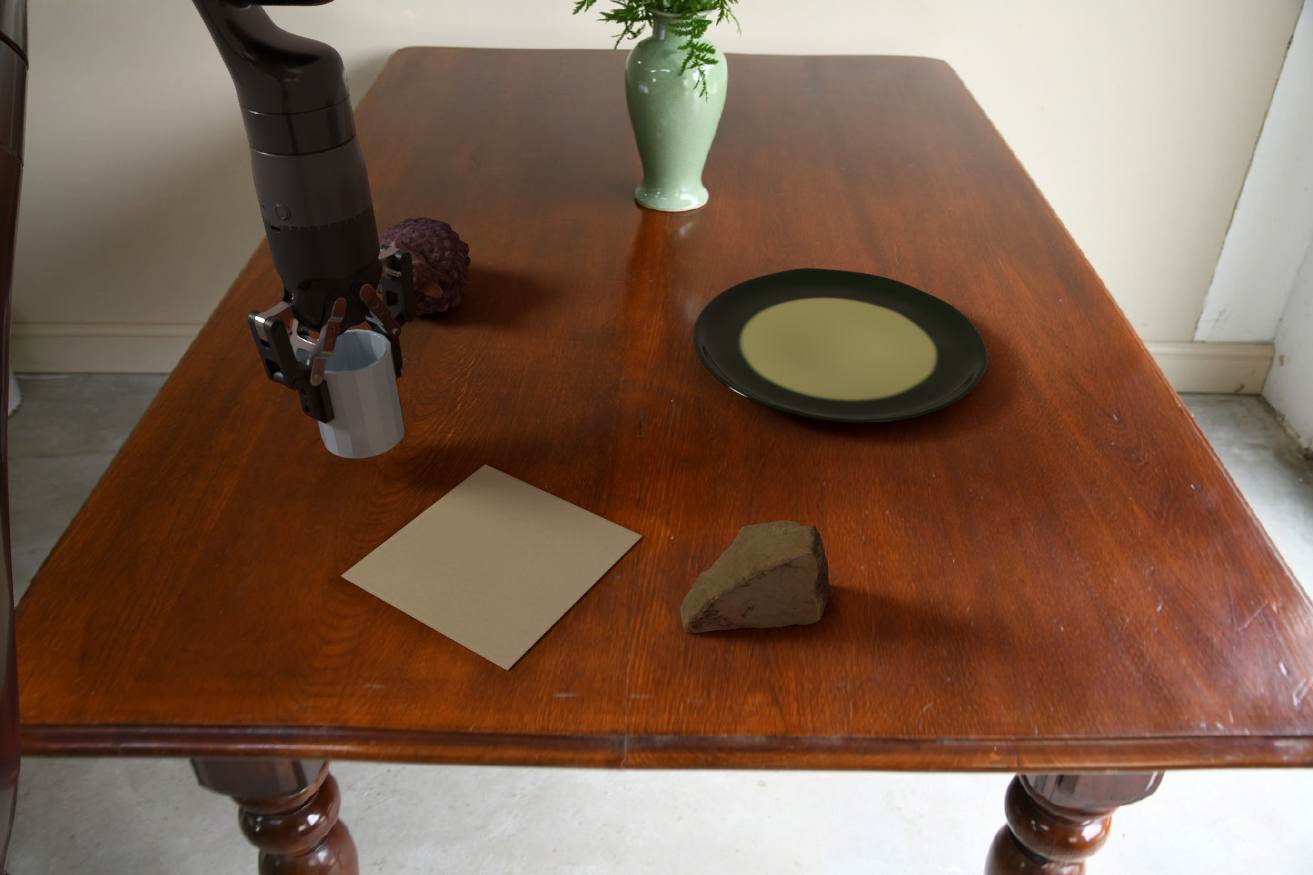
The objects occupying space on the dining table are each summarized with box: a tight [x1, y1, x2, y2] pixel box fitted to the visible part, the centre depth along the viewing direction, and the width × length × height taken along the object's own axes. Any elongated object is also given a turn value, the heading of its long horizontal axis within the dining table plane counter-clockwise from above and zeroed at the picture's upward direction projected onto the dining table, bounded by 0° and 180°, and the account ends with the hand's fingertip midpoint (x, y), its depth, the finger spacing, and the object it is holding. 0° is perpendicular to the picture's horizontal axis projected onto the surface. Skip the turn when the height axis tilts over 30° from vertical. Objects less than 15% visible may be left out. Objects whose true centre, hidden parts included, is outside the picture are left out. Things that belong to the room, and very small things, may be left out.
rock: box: [679, 519, 830, 634], centre depth 71 cm, size 11×9×10 cm
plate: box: [692, 267, 989, 425], centre depth 99 cm, size 28×28×2 cm
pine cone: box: [376, 216, 472, 316], centre depth 106 cm, size 18×10×10 cm
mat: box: [340, 464, 643, 672], centre depth 77 cm, size 16×16×1 cm
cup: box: [307, 328, 406, 459], centre depth 81 cm, size 6×6×8 cm
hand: (356, 396), depth 81 cm, fingers closed on cup, 6 cm apart
